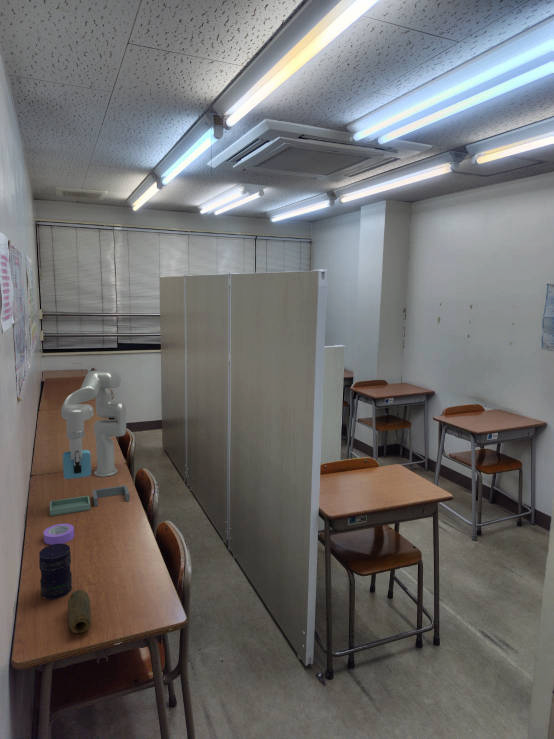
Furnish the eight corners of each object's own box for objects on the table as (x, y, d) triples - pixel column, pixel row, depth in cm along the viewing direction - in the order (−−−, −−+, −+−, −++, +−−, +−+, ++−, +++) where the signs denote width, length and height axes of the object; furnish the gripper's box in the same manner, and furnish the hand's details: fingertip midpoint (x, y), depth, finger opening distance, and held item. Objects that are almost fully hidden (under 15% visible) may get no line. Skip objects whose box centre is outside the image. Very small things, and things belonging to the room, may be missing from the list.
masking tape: (39, 538, 199) (39, 529, 198) (67, 528, 207) (66, 520, 207) (50, 548, 191) (50, 539, 190) (79, 538, 199) (78, 529, 199)
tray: (50, 507, 227) (49, 501, 227) (89, 501, 234) (89, 495, 234) (49, 516, 218) (49, 510, 217) (90, 510, 225) (90, 504, 225)
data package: (90, 472, 228) (90, 449, 226) (91, 476, 224) (90, 452, 222) (63, 476, 224) (62, 452, 222) (63, 479, 219) (62, 455, 218)
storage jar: (40, 602, 157) (37, 561, 155) (41, 585, 166) (39, 546, 164) (72, 595, 161) (70, 555, 159) (72, 579, 170) (70, 541, 168)
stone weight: (65, 610, 154) (64, 591, 153) (88, 603, 157) (87, 585, 156) (70, 639, 141) (69, 619, 140) (94, 631, 144) (94, 612, 143)
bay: (92, 497, 239) (92, 489, 238) (126, 492, 246) (126, 485, 245) (94, 506, 229) (94, 498, 228) (129, 501, 236) (129, 493, 235)
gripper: (66, 430, 226) (67, 466, 229) (67, 440, 211) (69, 478, 214) (82, 428, 230) (84, 464, 233) (85, 438, 215) (87, 476, 218)
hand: (77, 470), depth 223 cm, fingers closed on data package, 4 cm apart
